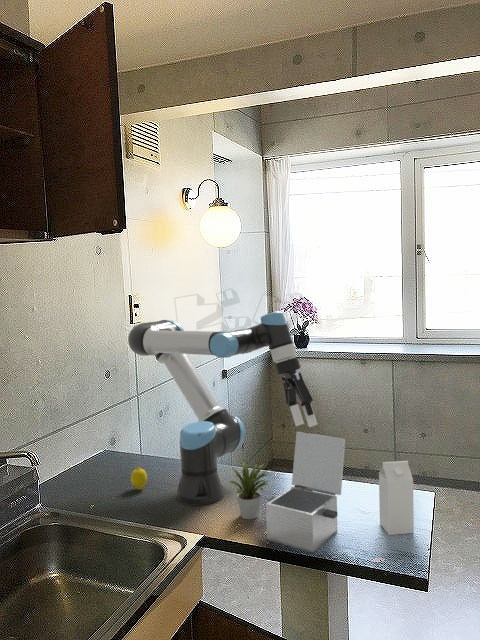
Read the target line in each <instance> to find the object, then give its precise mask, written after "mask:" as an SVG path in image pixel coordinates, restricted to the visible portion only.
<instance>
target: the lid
mask: <svg viewBox="0 0 480 640" xmlns="http://www.w3.org/2000/svg"><path fill="white" fill-rule="evenodd" d="M345 447H346V438H343V437H342V438H341V437H336V436H335V437H334V436H328V435H324V434H323V435H322V434H317V433H316V434H315V433H308V432H304V431H303V432H302V431H296V435H295V447H294V455H293V468H292V477H291V485H292V486H296V487H297V488H302V489H306V490H311V491H314V492H319V493H323V494H328V495H332V496H336V495H337V496H342V488H343V487H342V486H343V484H342V483H343V472H344V463H345V462H344V461H345V451H346V450H345Z"/></svg>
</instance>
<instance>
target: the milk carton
mask: <svg viewBox="0 0 480 640" xmlns="http://www.w3.org/2000/svg"><path fill="white" fill-rule="evenodd" d="M378 487H379V488H378V491H379V492H378V494H379V495H378V496H379V498H378V499H379V501H378V502H379V504H378V505H379V524H380V526H381V527H382V528H383V530H384V531H385V532H386V533H387V535H388V536H392V535H395V536H396V535H405V534H406V535H407V534H414V532H415V531H414V530H415V523H414V522H415V520H414V519H415V517H414V516H415V515H414V513H415V512H414V478H413V476H412V472H411V469H410V466H409V461H408V460H399V461H385V462H384V461H383V462H382V467H381V468H380V470H379V472H378Z"/></svg>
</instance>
